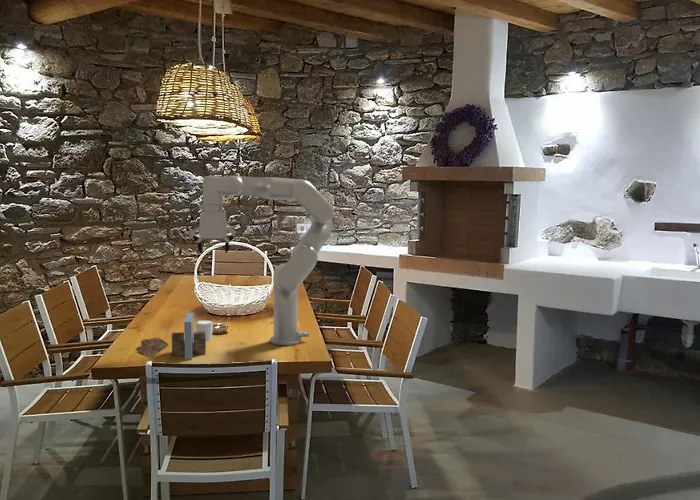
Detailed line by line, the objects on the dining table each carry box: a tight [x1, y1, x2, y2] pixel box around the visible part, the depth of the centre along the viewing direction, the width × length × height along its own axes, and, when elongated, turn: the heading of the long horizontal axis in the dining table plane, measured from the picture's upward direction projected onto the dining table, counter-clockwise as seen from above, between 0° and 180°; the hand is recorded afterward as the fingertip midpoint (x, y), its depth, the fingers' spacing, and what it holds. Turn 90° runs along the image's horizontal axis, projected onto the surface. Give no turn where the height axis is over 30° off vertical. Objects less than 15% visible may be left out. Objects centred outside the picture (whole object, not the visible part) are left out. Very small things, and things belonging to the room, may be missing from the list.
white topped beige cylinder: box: [195, 319, 214, 341], centre depth 248 cm, size 7×7×7 cm
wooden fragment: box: [136, 336, 169, 358], centre depth 236 cm, size 26×11×1 cm, turn 9°
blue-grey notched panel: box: [183, 312, 194, 361], centre depth 228 cm, size 14×2×14 cm, turn 11°
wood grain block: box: [171, 331, 207, 356], centre depth 228 cm, size 12×2×8 cm, turn 101°
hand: (213, 252), depth 237 cm, fingers open, 9 cm apart
